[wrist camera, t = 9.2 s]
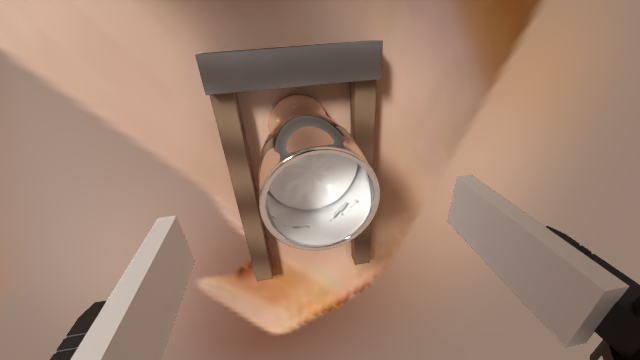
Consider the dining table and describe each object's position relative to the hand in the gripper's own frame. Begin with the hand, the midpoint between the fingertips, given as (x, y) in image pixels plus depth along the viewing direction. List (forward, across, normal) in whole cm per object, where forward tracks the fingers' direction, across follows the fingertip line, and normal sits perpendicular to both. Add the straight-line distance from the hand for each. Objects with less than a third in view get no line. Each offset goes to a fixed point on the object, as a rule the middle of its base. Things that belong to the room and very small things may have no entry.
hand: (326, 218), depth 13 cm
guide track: (+16, 0, -7) cm, 18 cm away
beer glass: (+17, 0, 0) cm, 17 cm away
